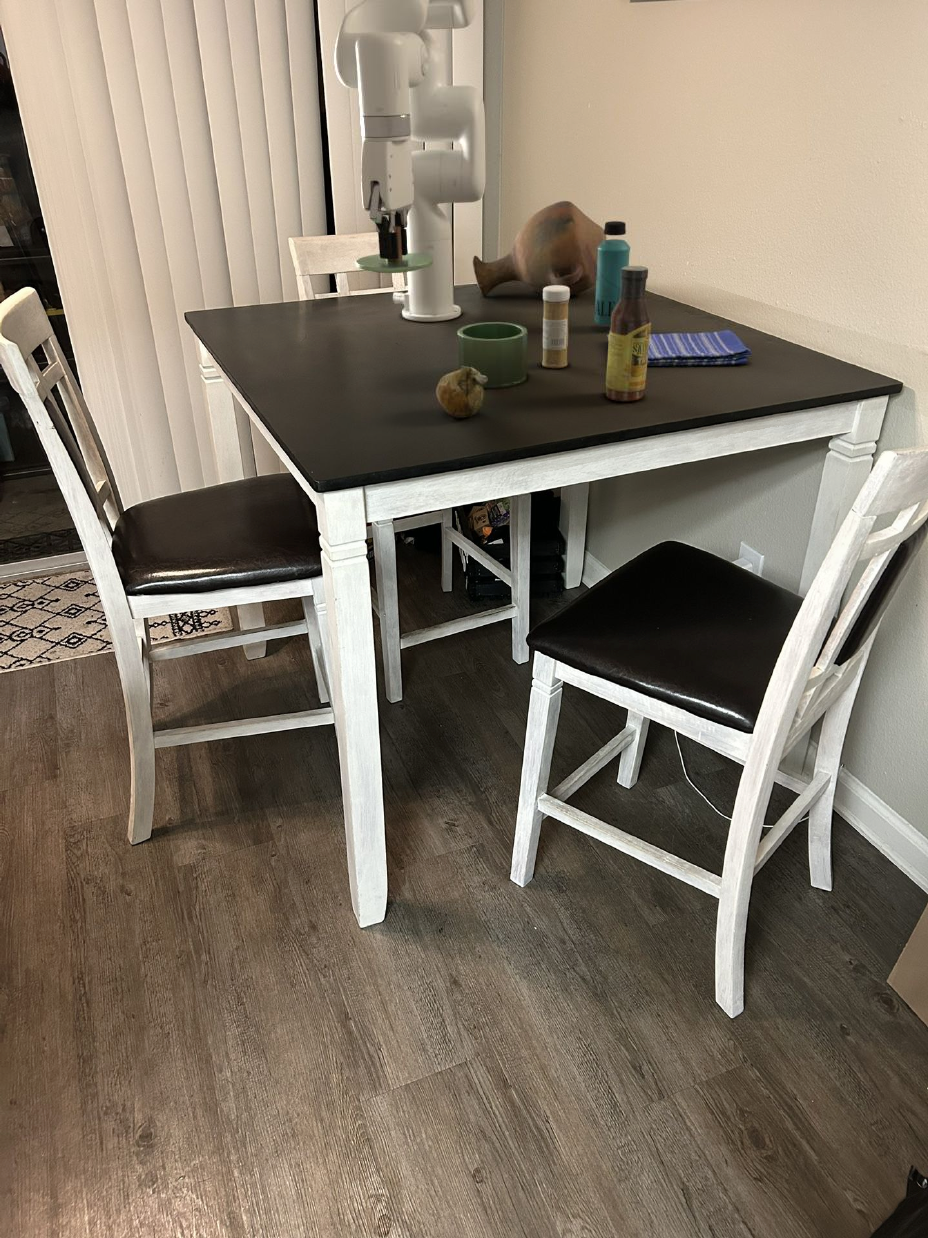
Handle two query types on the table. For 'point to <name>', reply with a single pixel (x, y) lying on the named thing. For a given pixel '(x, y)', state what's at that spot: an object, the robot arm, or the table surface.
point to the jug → (548, 253)
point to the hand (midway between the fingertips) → (393, 255)
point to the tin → (494, 352)
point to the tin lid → (395, 261)
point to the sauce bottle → (629, 338)
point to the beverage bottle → (610, 272)
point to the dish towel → (696, 349)
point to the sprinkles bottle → (555, 326)
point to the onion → (461, 392)
